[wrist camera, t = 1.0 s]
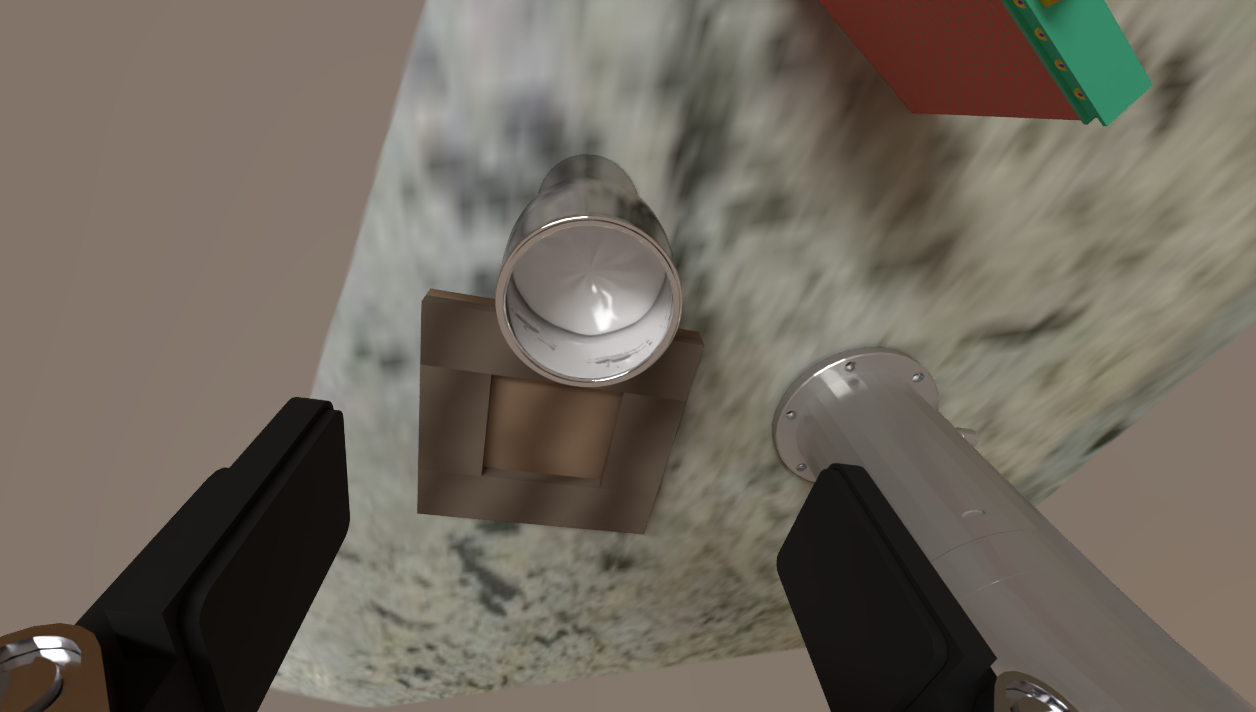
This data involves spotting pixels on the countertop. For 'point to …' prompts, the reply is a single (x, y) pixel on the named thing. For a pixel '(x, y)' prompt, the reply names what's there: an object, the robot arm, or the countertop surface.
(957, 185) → the countertop surface
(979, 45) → the toy building block set
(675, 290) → the beer glass
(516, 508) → the coaster board
